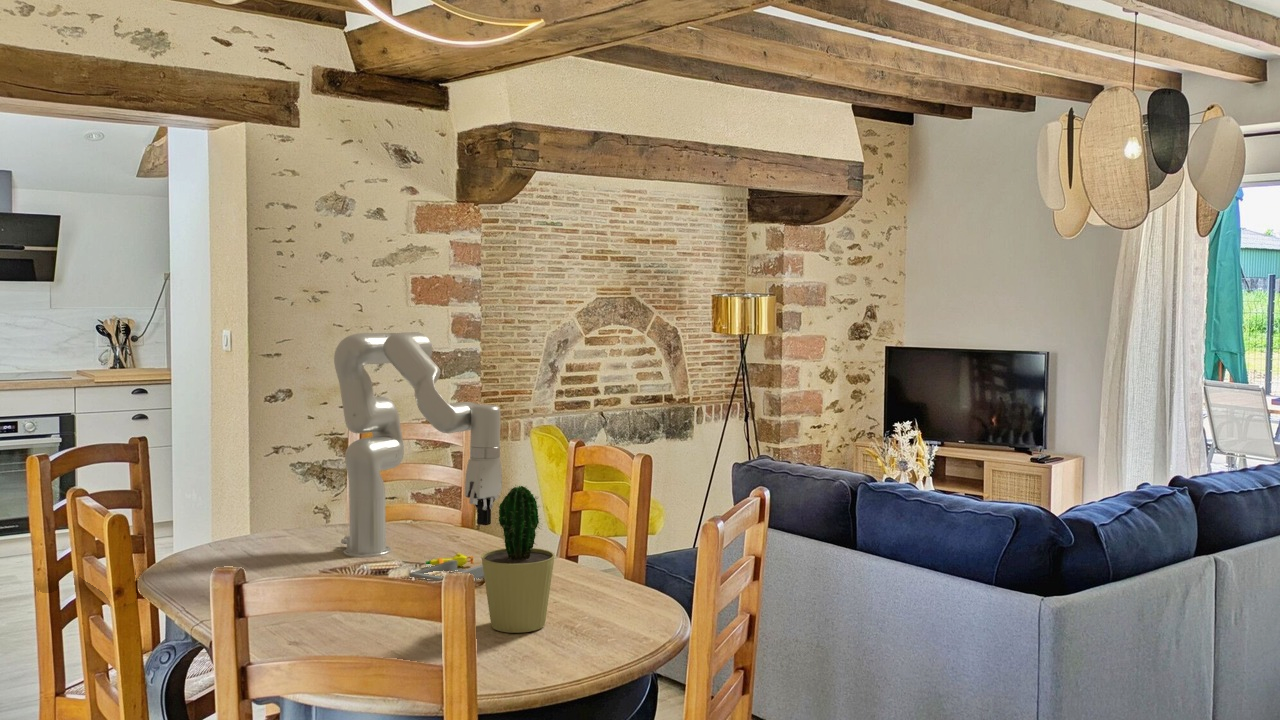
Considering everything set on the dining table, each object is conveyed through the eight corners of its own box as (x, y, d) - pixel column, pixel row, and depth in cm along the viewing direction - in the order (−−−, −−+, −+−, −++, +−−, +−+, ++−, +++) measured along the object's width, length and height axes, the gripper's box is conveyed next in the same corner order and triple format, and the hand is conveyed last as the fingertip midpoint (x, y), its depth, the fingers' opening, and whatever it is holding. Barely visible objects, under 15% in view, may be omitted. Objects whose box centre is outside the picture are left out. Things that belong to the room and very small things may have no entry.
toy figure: (473, 557, 269) (425, 563, 266) (474, 571, 269) (426, 577, 267) (471, 548, 275) (424, 554, 273) (472, 561, 276) (425, 567, 273)
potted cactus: (511, 610, 233) (510, 475, 232) (568, 621, 225) (569, 481, 224) (465, 628, 220) (465, 485, 219) (525, 640, 212) (525, 491, 211)
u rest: (407, 585, 254) (407, 573, 254) (451, 571, 268) (451, 559, 268) (446, 592, 248) (446, 579, 248) (488, 577, 262) (488, 565, 262)
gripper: (491, 448, 278) (490, 517, 279) (454, 455, 265) (453, 527, 266) (514, 451, 274) (513, 521, 275) (478, 457, 261) (477, 531, 262)
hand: (483, 524), depth 271 cm, fingers closed
